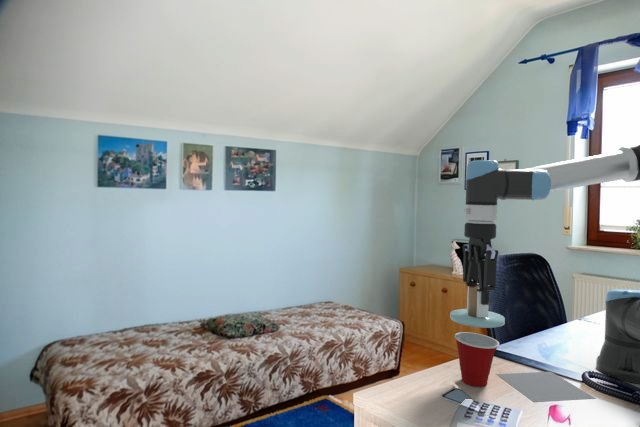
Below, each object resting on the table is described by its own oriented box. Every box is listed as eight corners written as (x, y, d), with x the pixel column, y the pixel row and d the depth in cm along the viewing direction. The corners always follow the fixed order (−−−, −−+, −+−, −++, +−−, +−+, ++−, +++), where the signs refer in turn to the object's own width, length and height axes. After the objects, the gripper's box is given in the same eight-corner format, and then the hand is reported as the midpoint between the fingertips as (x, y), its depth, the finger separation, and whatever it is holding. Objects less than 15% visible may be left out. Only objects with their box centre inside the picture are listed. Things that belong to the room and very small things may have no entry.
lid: (487, 312, 119) (488, 282, 119) (515, 327, 106) (516, 293, 106) (441, 313, 117) (442, 283, 117) (465, 328, 104) (466, 294, 104)
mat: (550, 373, 120) (550, 371, 120) (595, 400, 104) (595, 398, 104) (496, 376, 118) (496, 374, 118) (533, 404, 102) (533, 401, 102)
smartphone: (455, 387, 110) (516, 407, 99) (455, 390, 110) (516, 411, 99) (439, 395, 105) (501, 418, 94) (439, 399, 105) (501, 422, 94)
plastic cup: (502, 395, 106) (503, 346, 106) (455, 391, 108) (456, 342, 108) (493, 377, 117) (495, 332, 116) (451, 373, 119) (452, 329, 118)
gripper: (451, 220, 119) (448, 305, 120) (484, 224, 102) (480, 324, 103) (477, 220, 120) (474, 305, 121) (514, 224, 103) (510, 323, 104)
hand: (477, 314), depth 112 cm, fingers closed on lid, 4 cm apart
